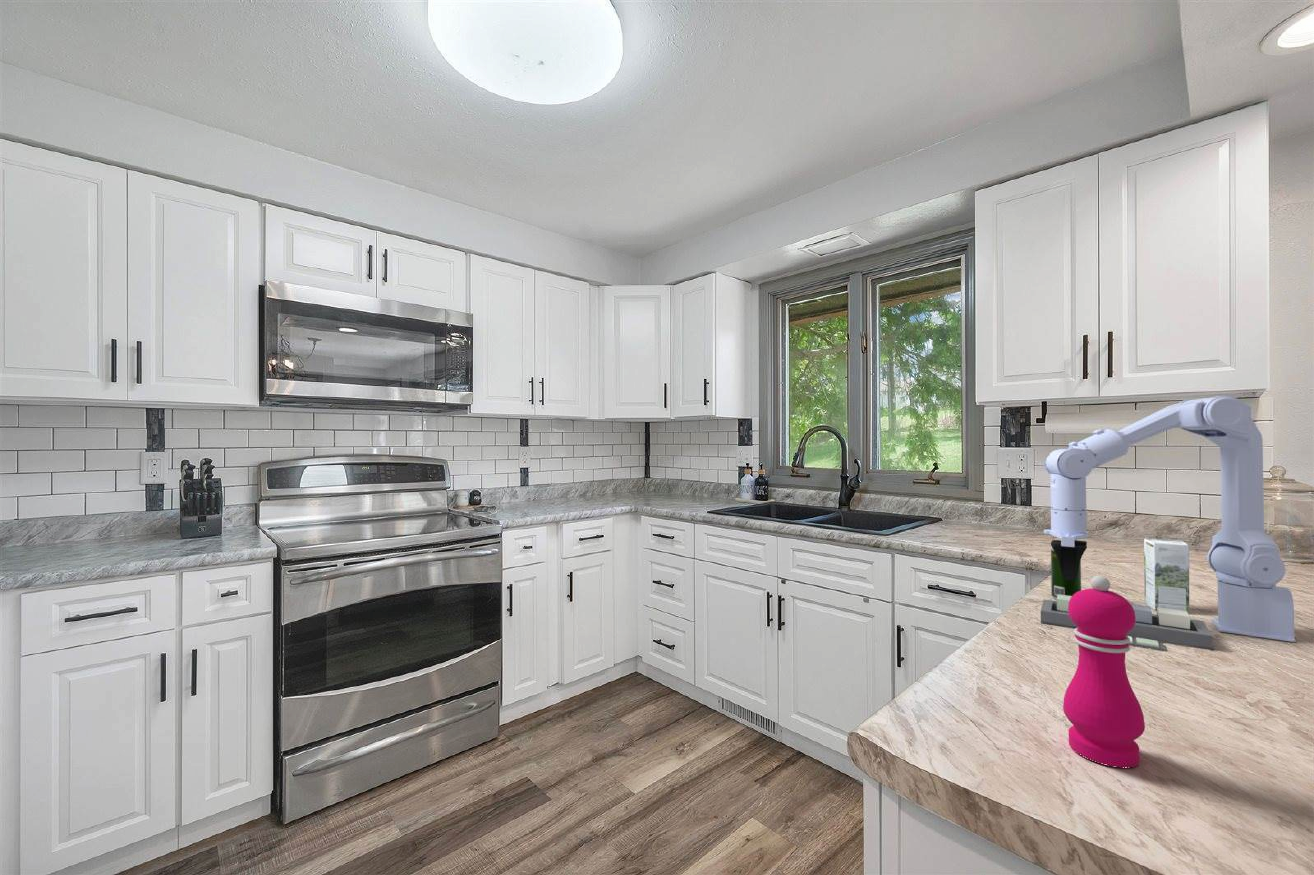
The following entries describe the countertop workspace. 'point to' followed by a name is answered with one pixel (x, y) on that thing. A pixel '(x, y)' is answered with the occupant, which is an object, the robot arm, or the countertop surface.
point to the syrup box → (1166, 574)
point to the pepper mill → (1103, 679)
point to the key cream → (1173, 618)
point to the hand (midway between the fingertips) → (1069, 578)
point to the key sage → (1063, 602)
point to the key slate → (1142, 613)
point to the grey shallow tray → (1141, 628)
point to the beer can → (1058, 582)
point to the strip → (1146, 643)
